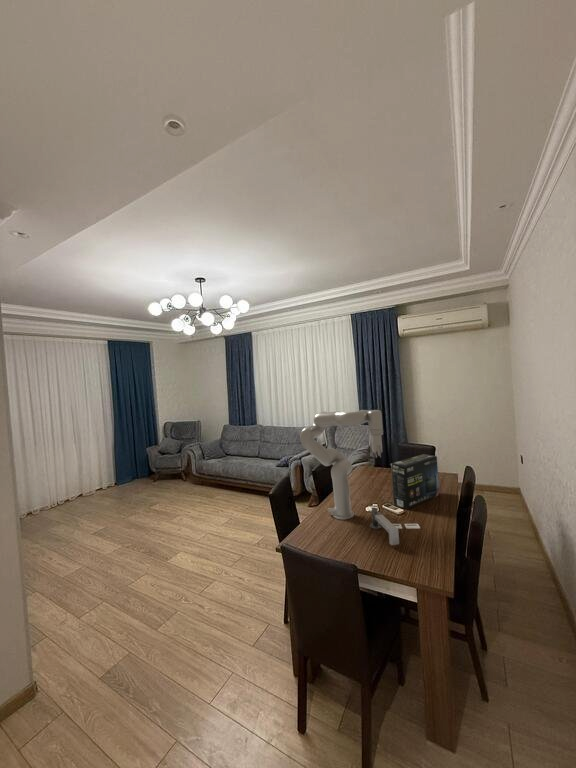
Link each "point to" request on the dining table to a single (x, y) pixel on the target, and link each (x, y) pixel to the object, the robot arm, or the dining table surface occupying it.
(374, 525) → the post
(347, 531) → the dining table surface
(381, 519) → the cable arm
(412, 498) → the router box
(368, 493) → the dining table surface
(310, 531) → the dining table surface
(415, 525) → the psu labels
